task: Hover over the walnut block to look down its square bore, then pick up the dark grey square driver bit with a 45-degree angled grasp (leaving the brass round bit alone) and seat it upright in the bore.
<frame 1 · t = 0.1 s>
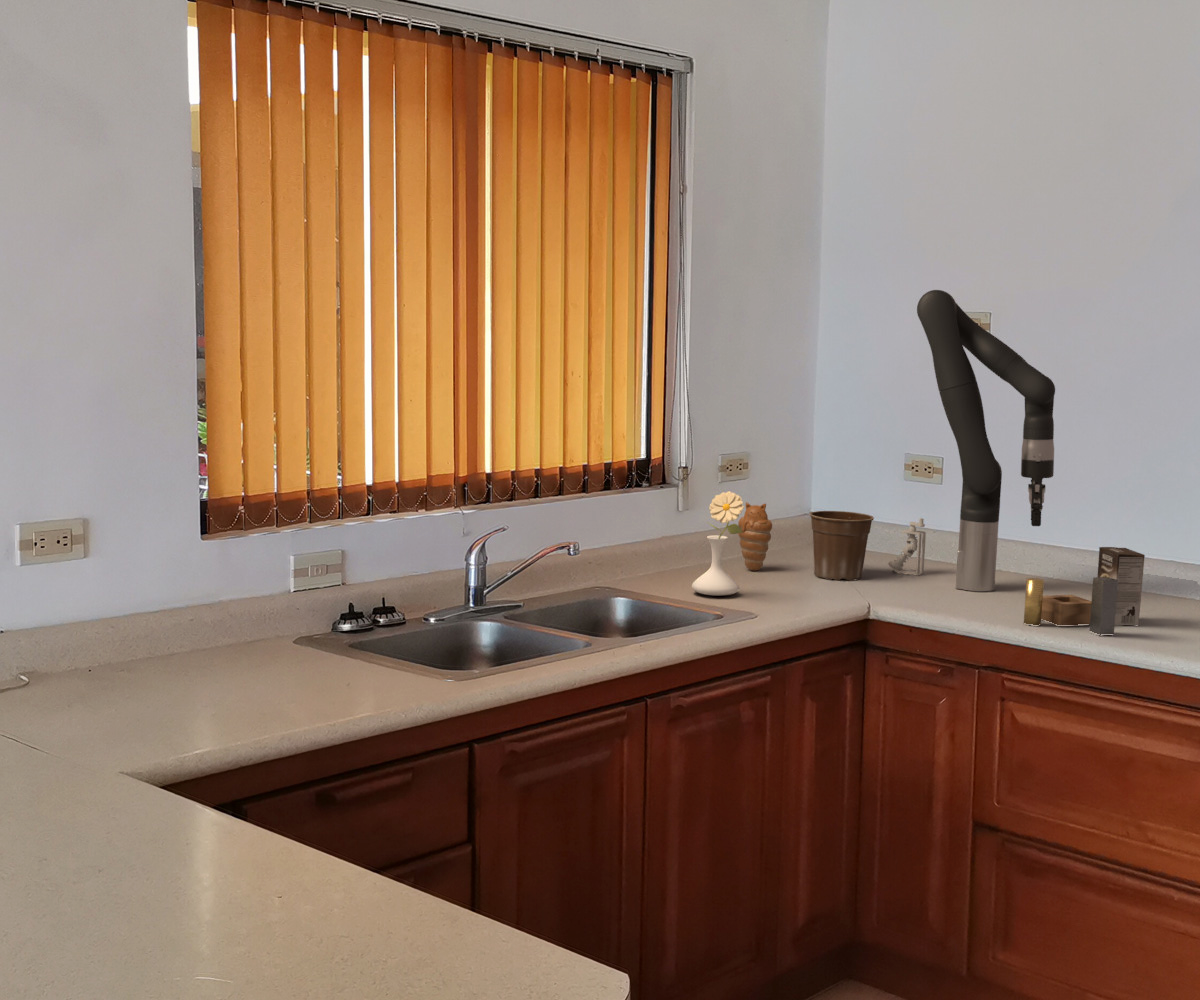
hand: (1035, 523, 322), 17 cm above the countertop, tool pointing down, fingers open, 8 cm apart
clamp: (905, 573, 348), on the countertop
flower in vase: (718, 595, 313), on the countertop
square bit: (1101, 634, 281), on the countertop
coffee box: (1116, 622, 294), on the countertop
round bit: (1032, 624, 288), on the countertop
cat ice cream: (753, 571, 346), on the countertop
plant pot: (838, 577, 340), on the countertop
bore block: (1064, 621, 292), on the countertop
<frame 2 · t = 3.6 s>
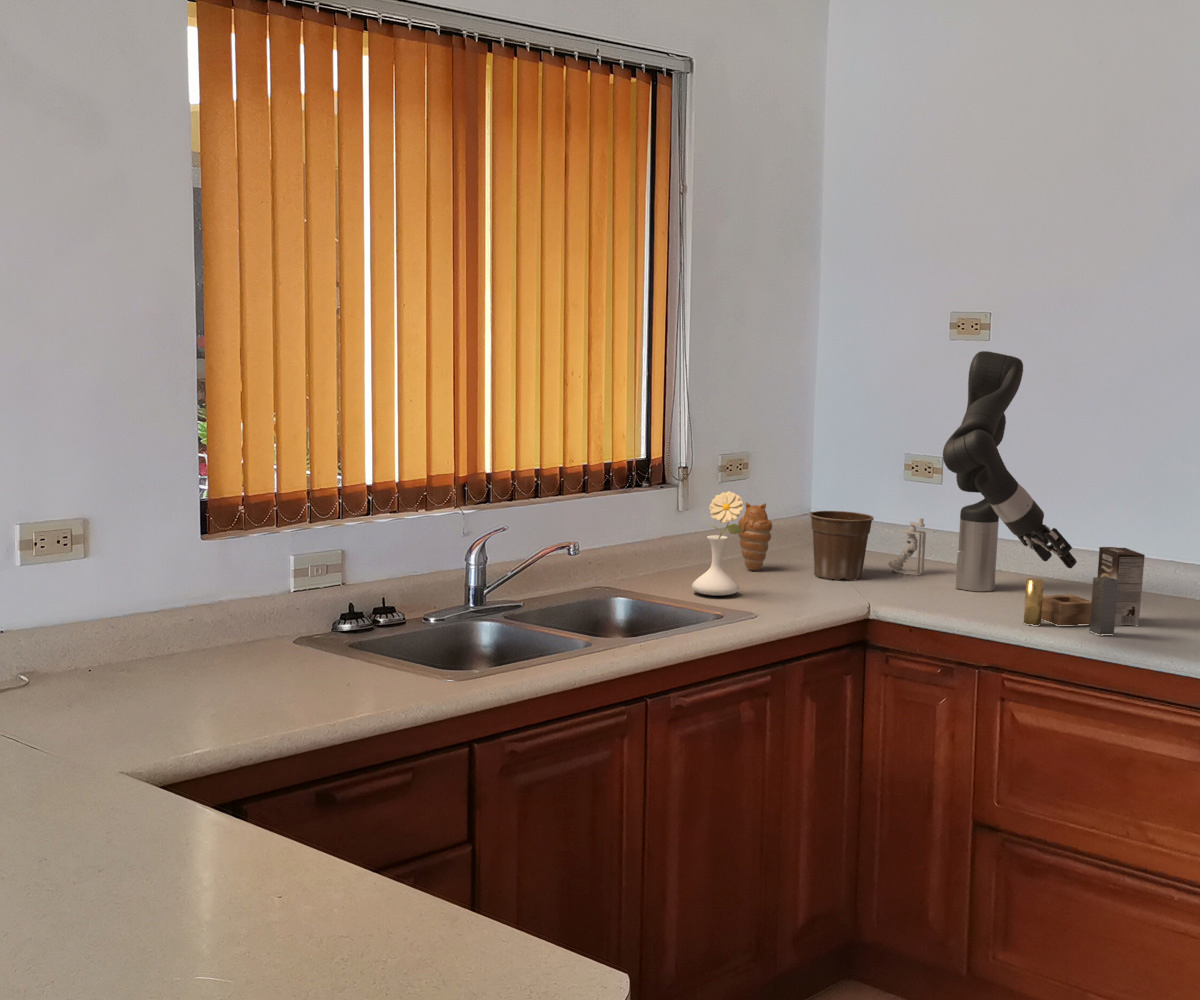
hand: (1060, 561, 275), 16 cm above the countertop, tool tilted 45°, fingers open, 8 cm apart
nothing on the countertop moved.
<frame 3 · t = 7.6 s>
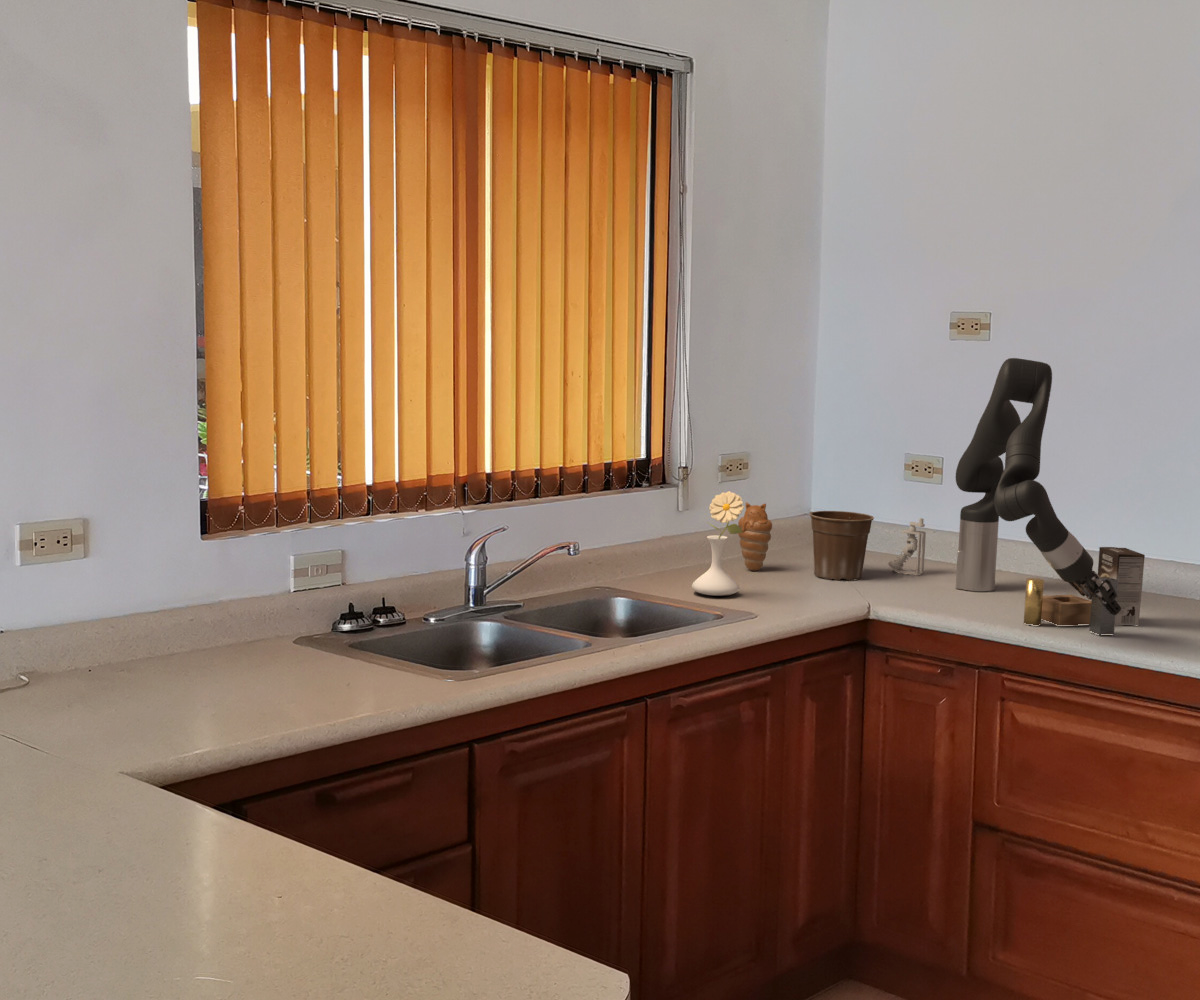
hand: (1111, 609, 280), 5 cm above the countertop, tool tilted 45°, fingers closed on square bit, 3 cm apart
square bit: (1101, 634, 281), on the countertop, touching gripper
everything else where it was.
when the fingers open (6 cm above the countertop, at t = 12.4 s): square bit drops 1 cm, resting in bore block.
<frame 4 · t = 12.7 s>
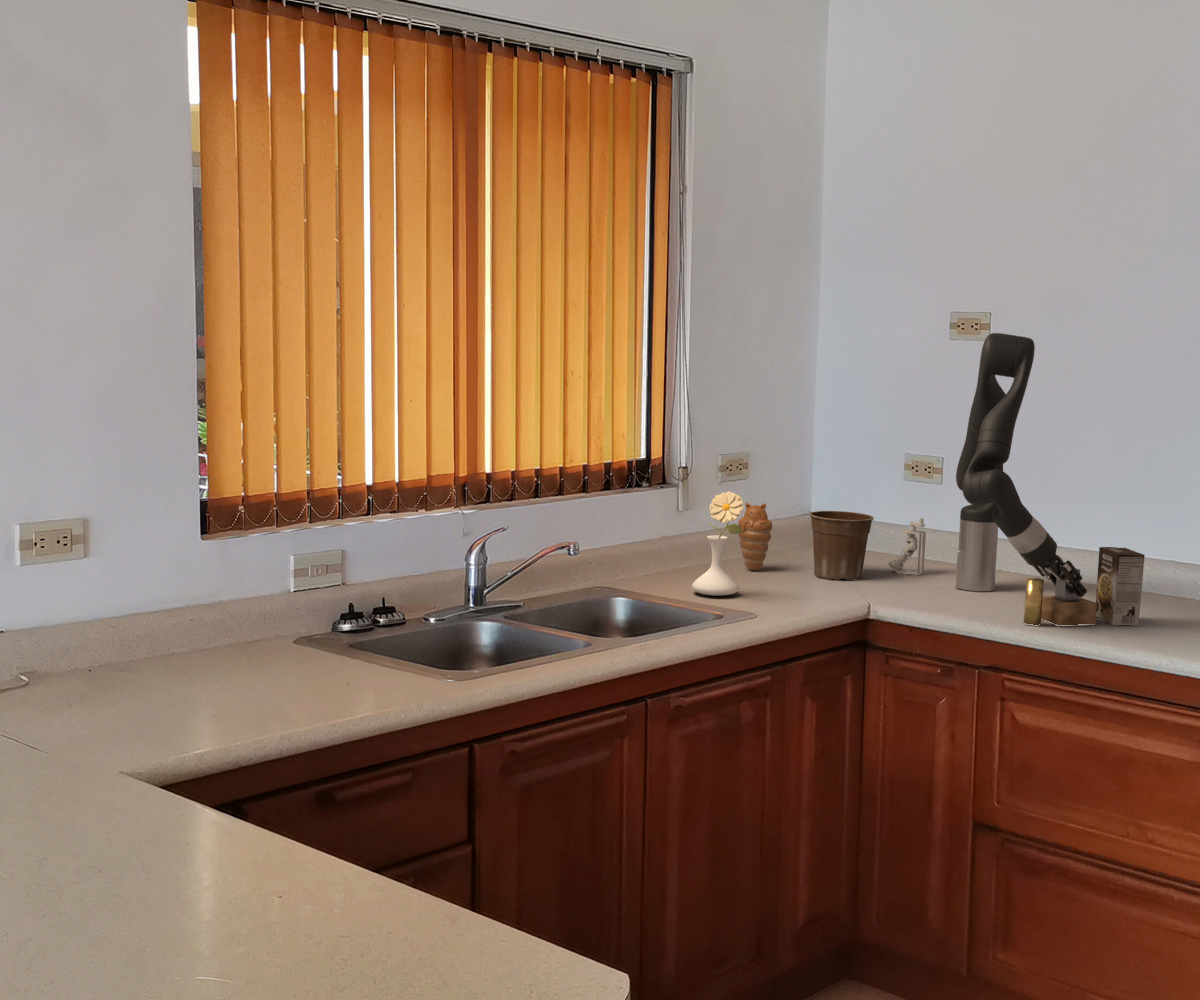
hand: (1073, 591, 292), 7 cm above the countertop, tool tilted 45°, fingers open, 6 cm apart
square bit: (1065, 621, 292), resting in bore block
everything else where it was.
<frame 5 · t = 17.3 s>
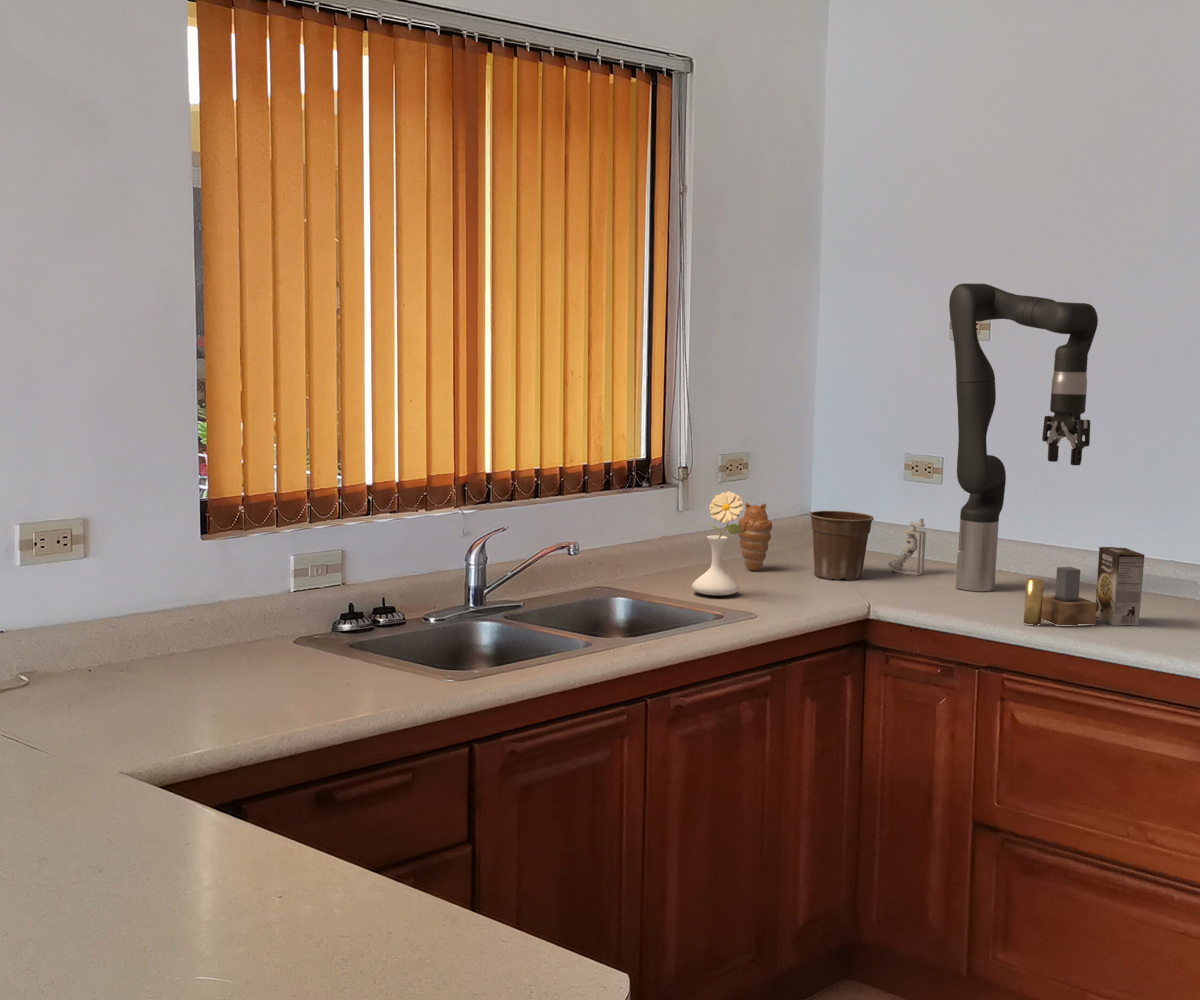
hand: (1063, 463, 300), 34 cm above the countertop, tool pointing down, fingers open, 8 cm apart
nothing on the countertop moved.
at the end: square bit 0.1 cm off-centre on the bore block, point 0.0 cm above the bore block's base; square bit tilted 0°; the gripper is holding nothing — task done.
